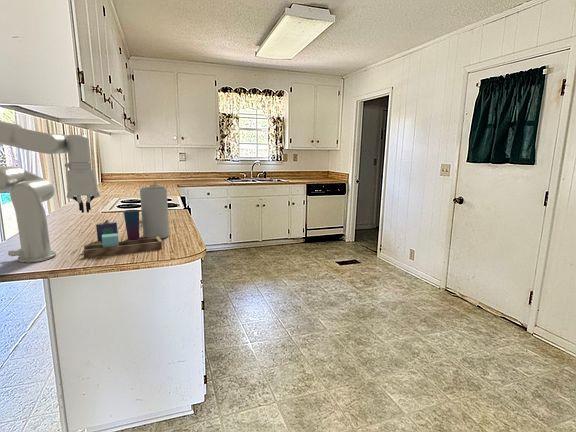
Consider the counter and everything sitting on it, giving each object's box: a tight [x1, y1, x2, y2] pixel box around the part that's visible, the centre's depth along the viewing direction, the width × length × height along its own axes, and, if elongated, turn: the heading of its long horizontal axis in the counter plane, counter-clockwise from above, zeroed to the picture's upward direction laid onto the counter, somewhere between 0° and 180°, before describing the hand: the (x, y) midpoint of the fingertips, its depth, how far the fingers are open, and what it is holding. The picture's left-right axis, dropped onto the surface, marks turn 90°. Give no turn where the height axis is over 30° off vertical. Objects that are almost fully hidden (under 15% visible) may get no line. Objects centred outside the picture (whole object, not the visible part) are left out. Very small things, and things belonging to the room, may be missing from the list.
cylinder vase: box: [139, 186, 170, 240], centre depth 171 cm, size 12×12×25 cm
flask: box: [95, 219, 119, 242], centre depth 163 cm, size 9×3×11 cm, turn 135°
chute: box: [82, 237, 163, 259], centre depth 147 cm, size 30×10×4 cm, turn 118°
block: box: [101, 233, 120, 248], centre depth 144 cm, size 6×5×7 cm
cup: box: [123, 209, 140, 241], centre depth 164 cm, size 7×7×15 cm
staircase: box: [149, 179, 165, 187], centre depth 213 cm, size 8×12×26 cm
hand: (85, 211), depth 137 cm, fingers closed
